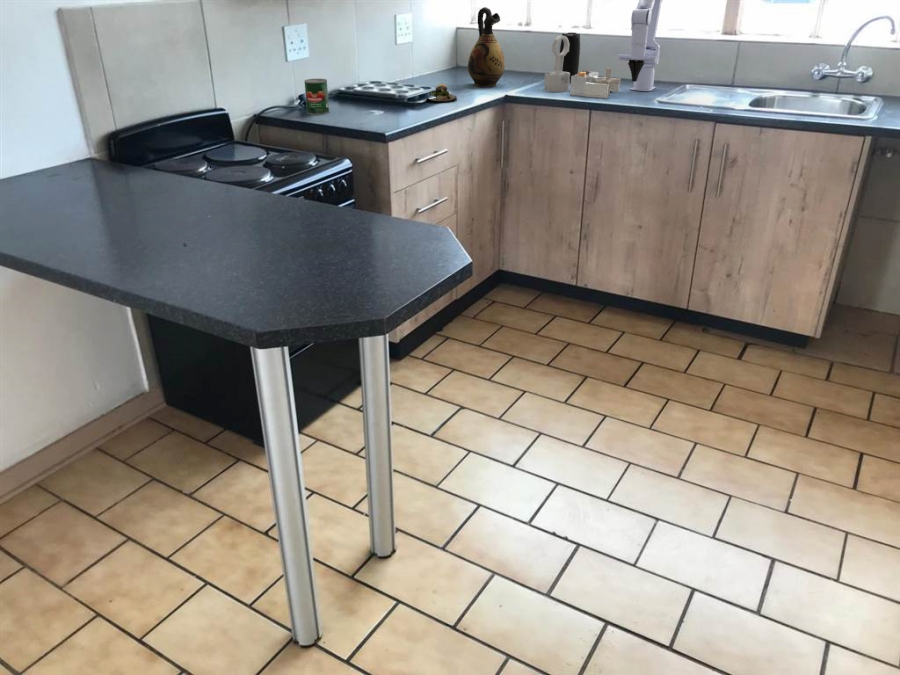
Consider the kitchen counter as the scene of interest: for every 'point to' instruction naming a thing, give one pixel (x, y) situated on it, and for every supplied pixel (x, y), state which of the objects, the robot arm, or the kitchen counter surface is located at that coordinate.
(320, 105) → the canned tomato
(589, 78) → the motor housing
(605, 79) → the pipe connector
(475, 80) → the ceramic jug
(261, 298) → the kitchen counter surface
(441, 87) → the burger
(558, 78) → the engine component
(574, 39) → the portable speaker
